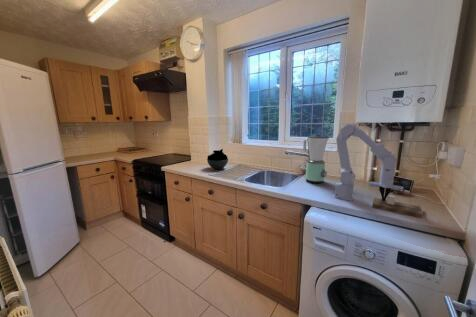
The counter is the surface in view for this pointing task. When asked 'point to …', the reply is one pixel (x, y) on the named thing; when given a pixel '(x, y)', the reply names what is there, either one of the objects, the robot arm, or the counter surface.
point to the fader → (390, 199)
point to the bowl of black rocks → (217, 159)
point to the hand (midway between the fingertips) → (383, 200)
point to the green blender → (315, 158)
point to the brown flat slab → (398, 208)
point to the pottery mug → (398, 190)
